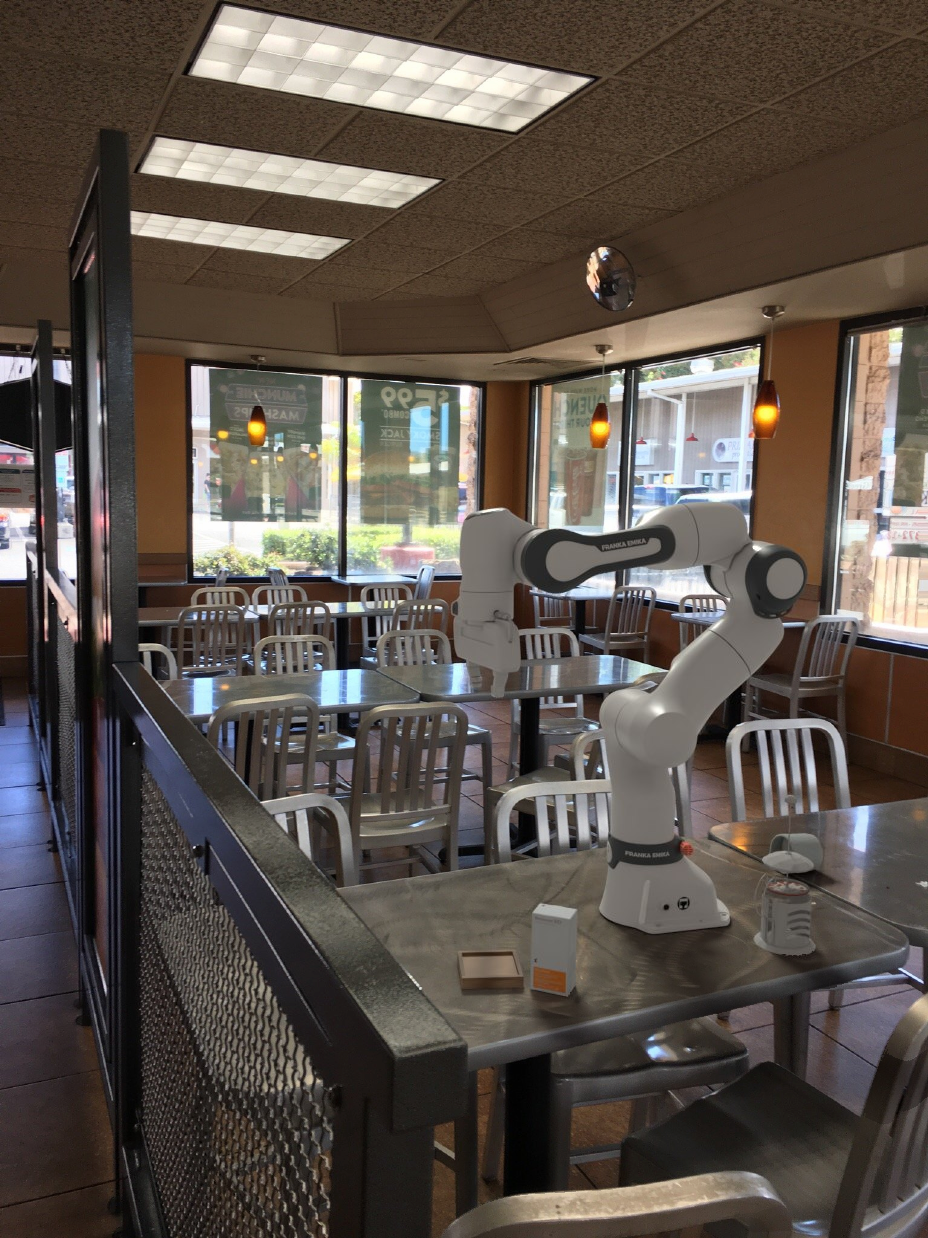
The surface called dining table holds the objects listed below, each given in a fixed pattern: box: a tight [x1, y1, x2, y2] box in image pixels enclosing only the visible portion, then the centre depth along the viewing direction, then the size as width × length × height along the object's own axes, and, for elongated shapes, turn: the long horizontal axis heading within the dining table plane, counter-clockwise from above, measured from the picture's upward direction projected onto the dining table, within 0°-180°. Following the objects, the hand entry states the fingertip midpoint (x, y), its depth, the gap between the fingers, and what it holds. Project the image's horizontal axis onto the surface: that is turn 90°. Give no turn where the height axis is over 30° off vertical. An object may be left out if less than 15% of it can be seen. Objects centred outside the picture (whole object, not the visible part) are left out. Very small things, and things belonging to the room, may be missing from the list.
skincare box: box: [529, 903, 579, 998], centre depth 147 cm, size 6×4×12 cm
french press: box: [753, 794, 816, 957], centre depth 163 cm, size 10×12×25 cm
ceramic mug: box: [768, 832, 825, 875], centre depth 199 cm, size 11×8×8 cm
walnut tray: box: [457, 949, 525, 990], centre depth 152 cm, size 9×9×2 cm
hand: (486, 691), depth 164 cm, fingers open, 8 cm apart
